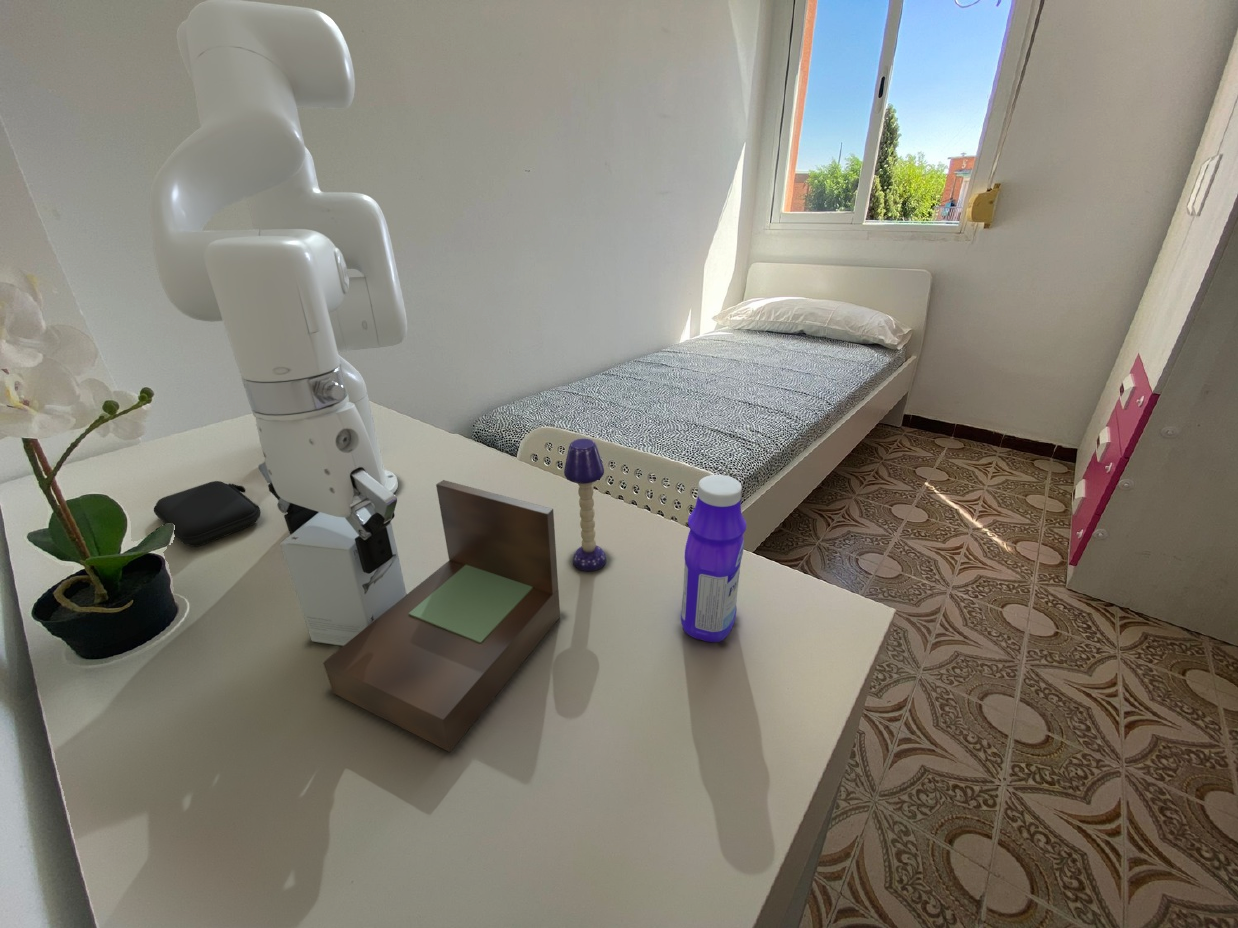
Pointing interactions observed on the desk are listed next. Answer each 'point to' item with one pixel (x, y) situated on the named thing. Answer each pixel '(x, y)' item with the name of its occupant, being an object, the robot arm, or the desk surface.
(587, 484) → the toy lamp
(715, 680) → the desk surface
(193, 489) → the carrying case
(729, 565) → the bottle
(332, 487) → the robot arm
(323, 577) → the white packaging box
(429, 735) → the wooden display stand
